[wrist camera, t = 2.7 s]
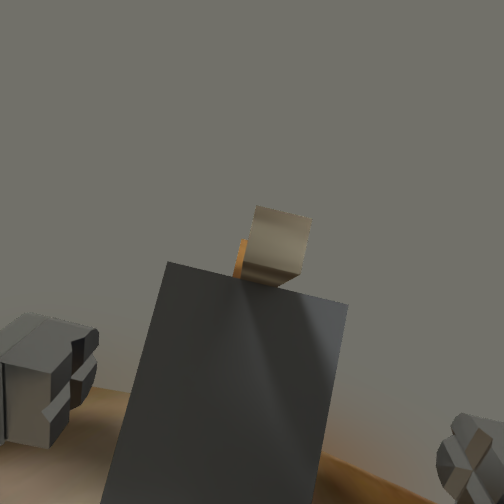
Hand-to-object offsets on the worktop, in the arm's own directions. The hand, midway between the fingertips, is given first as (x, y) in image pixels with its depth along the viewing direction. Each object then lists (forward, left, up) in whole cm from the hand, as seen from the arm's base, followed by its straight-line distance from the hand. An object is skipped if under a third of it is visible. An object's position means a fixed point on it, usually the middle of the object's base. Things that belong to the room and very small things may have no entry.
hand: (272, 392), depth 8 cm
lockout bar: (-14, +14, +4) cm, 20 cm away
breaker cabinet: (-17, +17, -22) cm, 33 cm away
